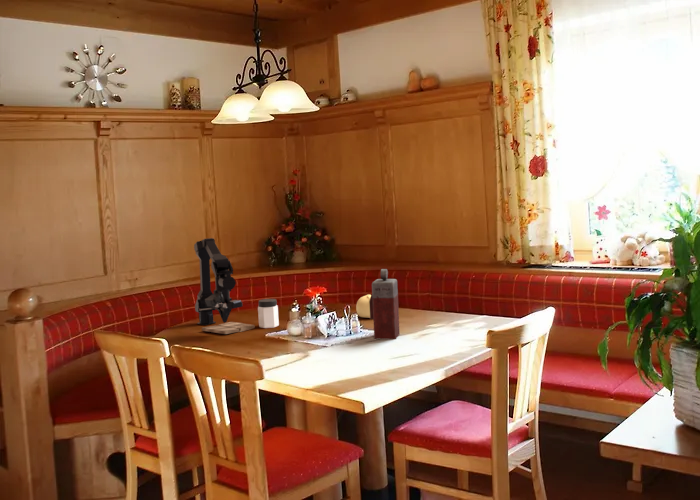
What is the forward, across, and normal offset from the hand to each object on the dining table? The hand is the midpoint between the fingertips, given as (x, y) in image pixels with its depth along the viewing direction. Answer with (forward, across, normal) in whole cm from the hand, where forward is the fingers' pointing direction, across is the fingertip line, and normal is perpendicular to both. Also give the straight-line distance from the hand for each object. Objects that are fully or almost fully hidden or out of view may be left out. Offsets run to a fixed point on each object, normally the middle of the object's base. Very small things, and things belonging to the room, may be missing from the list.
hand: (224, 322), depth 336 cm
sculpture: (+6, +34, +59) cm, 68 cm away
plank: (+5, -6, +2) cm, 8 cm away
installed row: (+5, -6, +12) cm, 14 cm away
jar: (+6, +5, +22) cm, 23 cm away
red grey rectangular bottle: (+6, +65, +30) cm, 72 cm away
